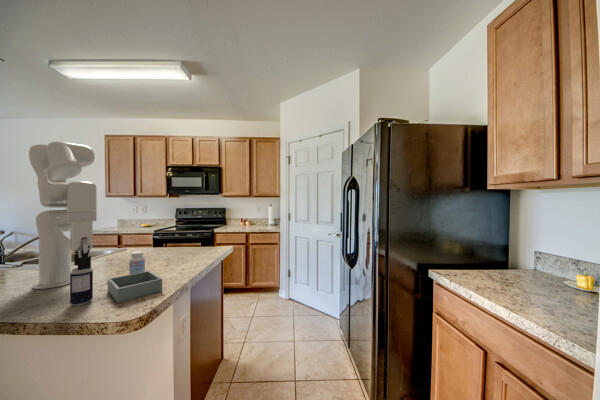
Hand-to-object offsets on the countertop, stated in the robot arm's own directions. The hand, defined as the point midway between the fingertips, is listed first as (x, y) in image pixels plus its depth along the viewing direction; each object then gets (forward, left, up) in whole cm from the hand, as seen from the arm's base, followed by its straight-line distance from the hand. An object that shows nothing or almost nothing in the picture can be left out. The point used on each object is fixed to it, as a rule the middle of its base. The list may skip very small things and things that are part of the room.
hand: (82, 266), depth 79 cm
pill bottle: (-21, +21, -13) cm, 32 cm away
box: (+1, +15, -13) cm, 20 cm away
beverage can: (-1, 0, -13) cm, 13 cm away
